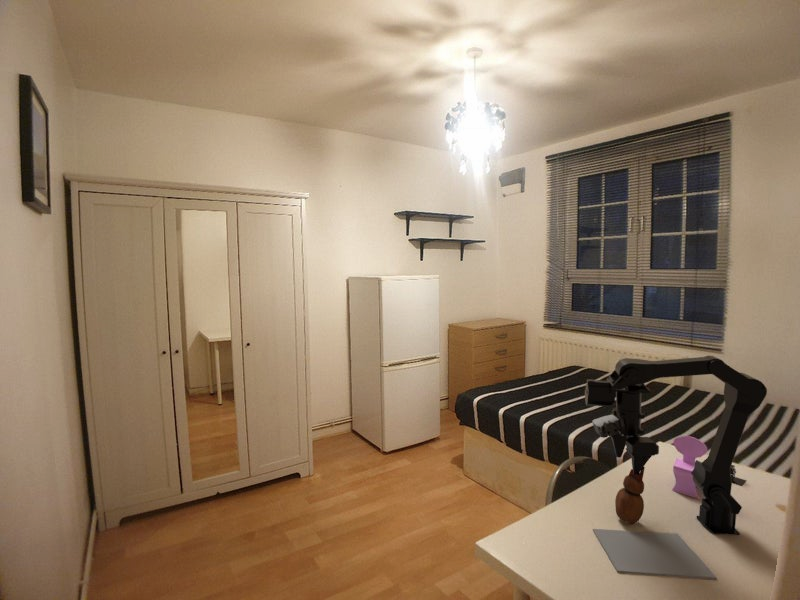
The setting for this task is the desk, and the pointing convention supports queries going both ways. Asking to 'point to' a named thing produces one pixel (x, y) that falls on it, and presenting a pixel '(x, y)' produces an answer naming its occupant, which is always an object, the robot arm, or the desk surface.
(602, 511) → the desk surface
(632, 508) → the wooden figurine
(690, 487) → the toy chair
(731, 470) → the build plate
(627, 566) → the mat
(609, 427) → the robot arm
